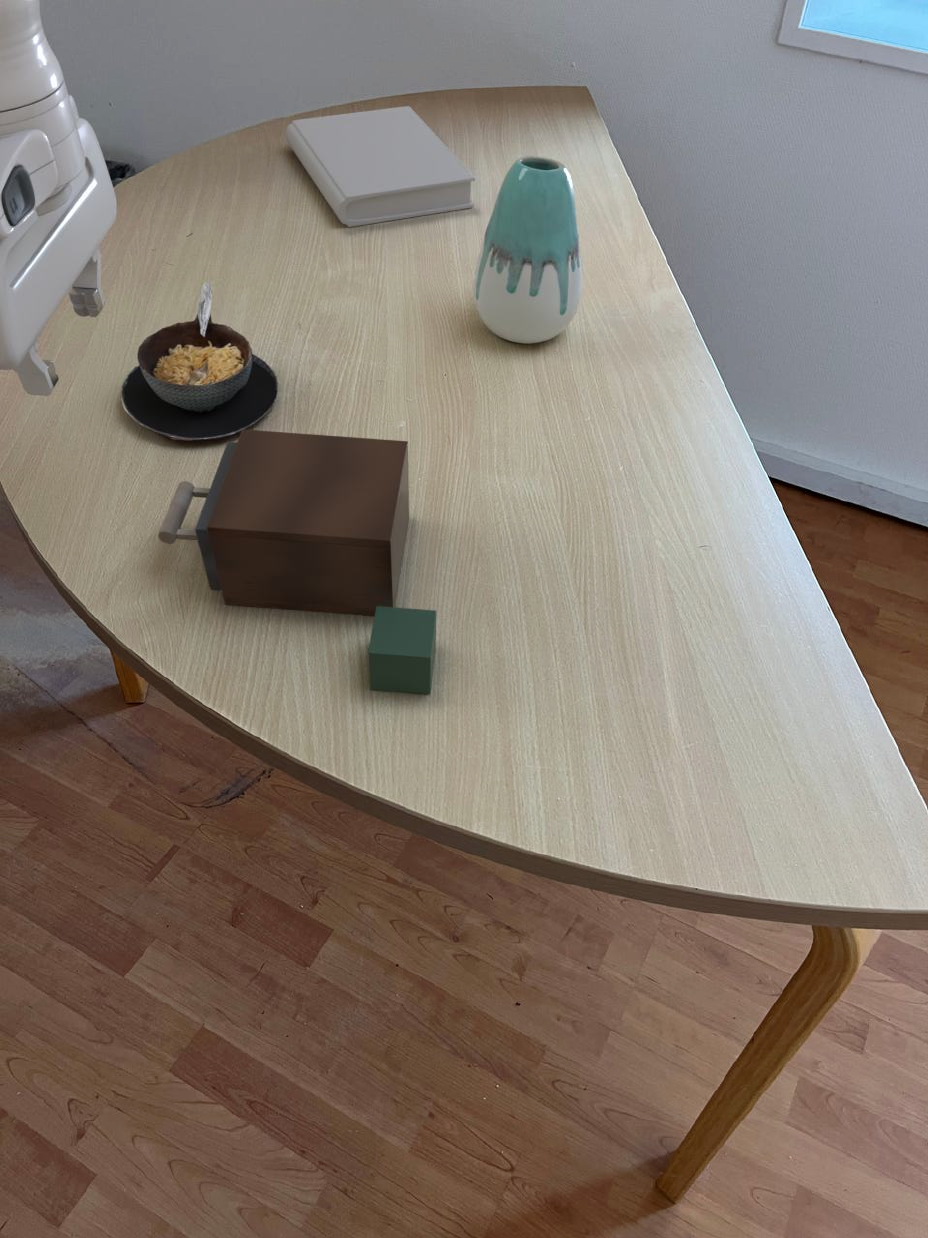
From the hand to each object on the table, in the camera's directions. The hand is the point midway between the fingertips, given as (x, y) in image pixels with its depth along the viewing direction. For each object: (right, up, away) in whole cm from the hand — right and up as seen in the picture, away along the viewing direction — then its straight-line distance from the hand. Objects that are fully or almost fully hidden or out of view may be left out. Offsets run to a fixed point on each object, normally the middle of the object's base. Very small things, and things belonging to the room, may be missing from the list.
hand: (68, 348), depth 64 cm
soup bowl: (+2, +3, +28) cm, 29 cm away
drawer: (+11, -13, +14) cm, 22 cm away
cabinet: (+15, -14, +14) cm, 25 cm away
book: (+16, +41, +61) cm, 75 cm away
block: (+23, -23, +7) cm, 33 cm away
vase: (+34, +13, +39) cm, 53 cm away
